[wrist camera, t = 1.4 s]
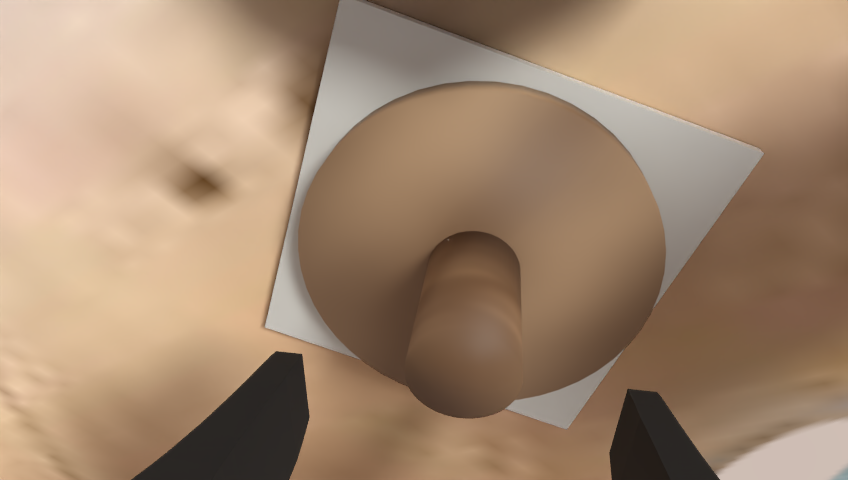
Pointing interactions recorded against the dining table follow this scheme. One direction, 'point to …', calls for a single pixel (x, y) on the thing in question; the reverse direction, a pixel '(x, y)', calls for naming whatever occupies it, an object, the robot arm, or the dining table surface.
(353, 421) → the dining table surface
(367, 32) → the mat
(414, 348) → the lid
